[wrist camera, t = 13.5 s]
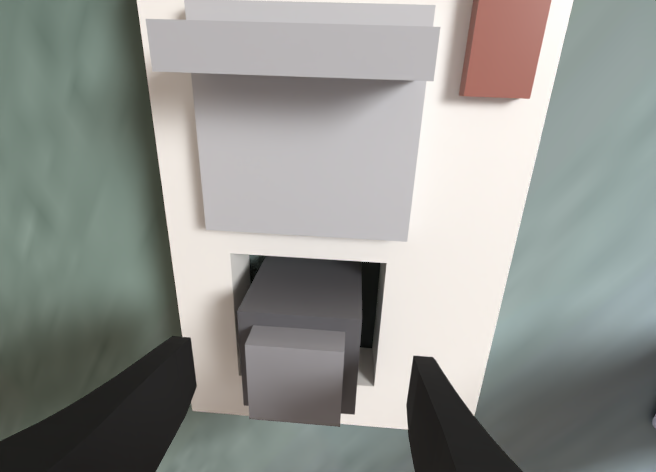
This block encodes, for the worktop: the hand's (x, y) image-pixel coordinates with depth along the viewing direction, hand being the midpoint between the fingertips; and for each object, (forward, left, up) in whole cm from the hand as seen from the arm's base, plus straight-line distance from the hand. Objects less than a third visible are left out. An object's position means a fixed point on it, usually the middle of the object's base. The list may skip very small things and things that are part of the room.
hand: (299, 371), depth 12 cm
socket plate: (-1, -4, -5) cm, 6 cm away
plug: (0, 0, -5) cm, 5 cm away
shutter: (0, -7, -2) cm, 8 cm away
